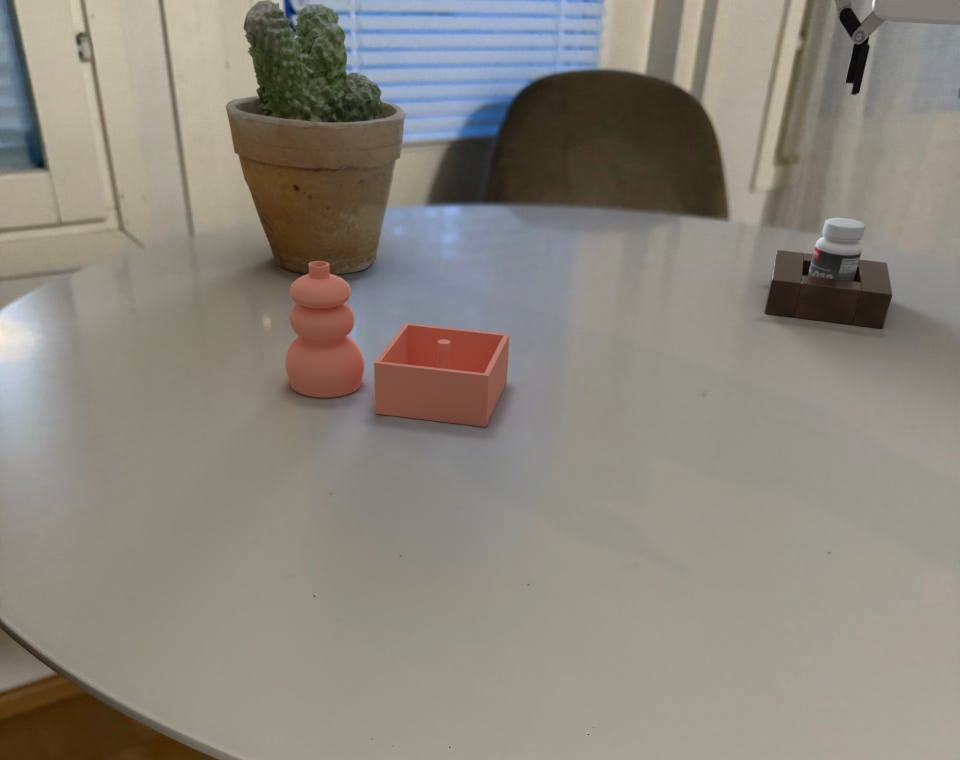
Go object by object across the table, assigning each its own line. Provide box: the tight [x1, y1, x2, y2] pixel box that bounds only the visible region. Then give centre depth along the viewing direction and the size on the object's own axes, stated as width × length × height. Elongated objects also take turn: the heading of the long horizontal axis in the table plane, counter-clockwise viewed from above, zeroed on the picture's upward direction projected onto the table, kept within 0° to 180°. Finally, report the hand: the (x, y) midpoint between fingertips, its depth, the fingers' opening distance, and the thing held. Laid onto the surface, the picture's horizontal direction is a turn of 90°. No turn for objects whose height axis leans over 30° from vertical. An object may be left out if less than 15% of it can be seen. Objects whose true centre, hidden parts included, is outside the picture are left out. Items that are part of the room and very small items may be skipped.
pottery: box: [284, 261, 510, 428], centre depth 77 cm, size 18×10×10 cm, turn 79°
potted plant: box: [225, 0, 407, 276], centre depth 101 cm, size 18×19×25 cm
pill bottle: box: [808, 217, 866, 281], centre depth 101 cm, size 5×5×8 cm
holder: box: [764, 249, 893, 329], centre depth 103 cm, size 12×12×4 cm
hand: (907, 96), depth 89 cm, fingers open, 9 cm apart
